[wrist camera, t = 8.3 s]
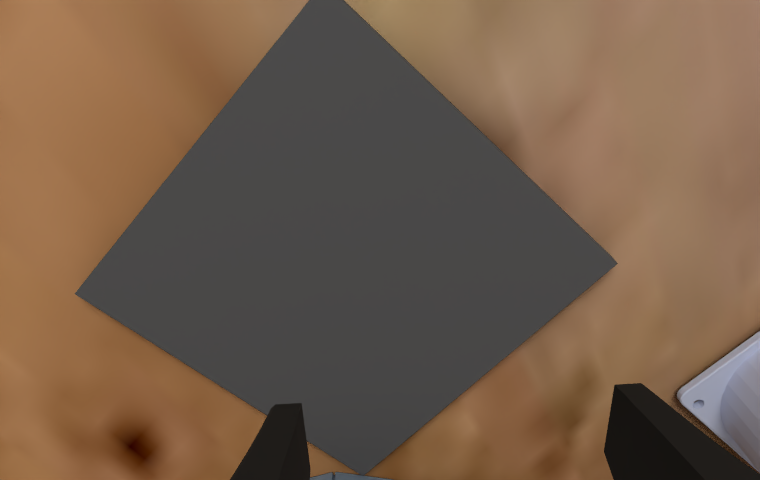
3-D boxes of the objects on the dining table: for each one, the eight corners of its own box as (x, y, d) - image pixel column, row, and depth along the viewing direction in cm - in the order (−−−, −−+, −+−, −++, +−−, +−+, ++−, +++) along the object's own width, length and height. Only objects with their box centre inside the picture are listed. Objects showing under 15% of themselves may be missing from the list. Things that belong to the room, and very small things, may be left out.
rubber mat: (611, 256, 24) (617, 263, 23) (363, 466, 28) (363, 476, 28) (324, -18, 19) (323, -18, 18) (81, 286, 23) (74, 293, 23)
